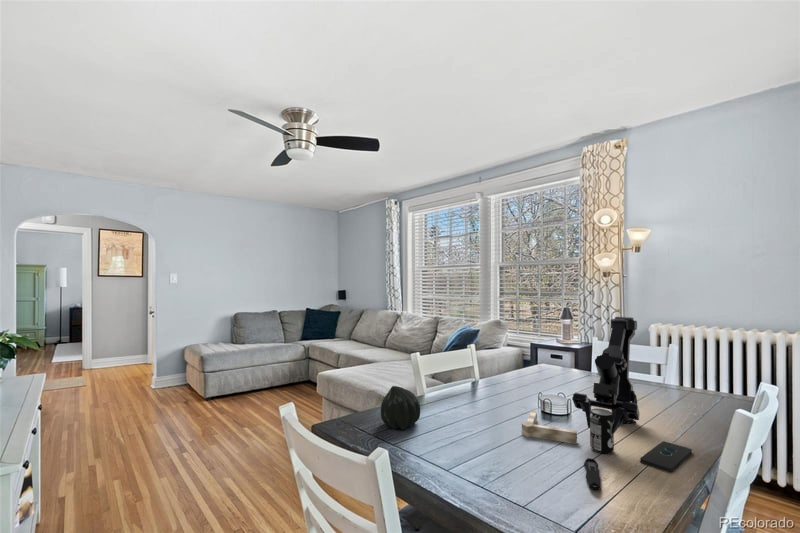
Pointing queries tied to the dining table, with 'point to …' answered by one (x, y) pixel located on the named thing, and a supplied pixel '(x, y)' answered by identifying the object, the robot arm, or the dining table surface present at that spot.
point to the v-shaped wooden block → (547, 431)
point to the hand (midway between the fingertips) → (600, 430)
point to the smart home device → (666, 456)
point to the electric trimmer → (592, 474)
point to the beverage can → (601, 431)
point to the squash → (400, 408)
